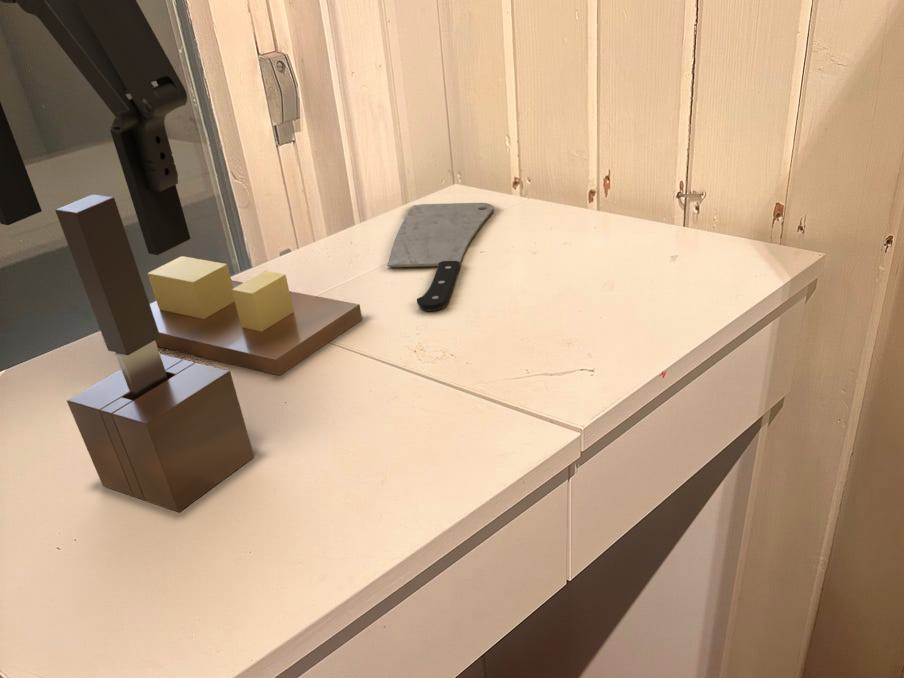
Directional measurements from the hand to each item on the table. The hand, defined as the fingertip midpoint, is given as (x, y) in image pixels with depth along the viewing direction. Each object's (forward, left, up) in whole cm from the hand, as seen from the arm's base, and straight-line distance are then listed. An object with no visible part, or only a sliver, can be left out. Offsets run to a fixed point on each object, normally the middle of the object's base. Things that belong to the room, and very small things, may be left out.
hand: (92, 232), depth 57 cm
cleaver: (-6, +43, -17) cm, 47 cm away
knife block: (0, 0, -17) cm, 17 cm away
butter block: (-18, +21, -16) cm, 32 cm away
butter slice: (-9, +21, -16) cm, 28 cm away
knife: (0, 0, -17) cm, 17 cm away
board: (-13, +21, -17) cm, 30 cm away
